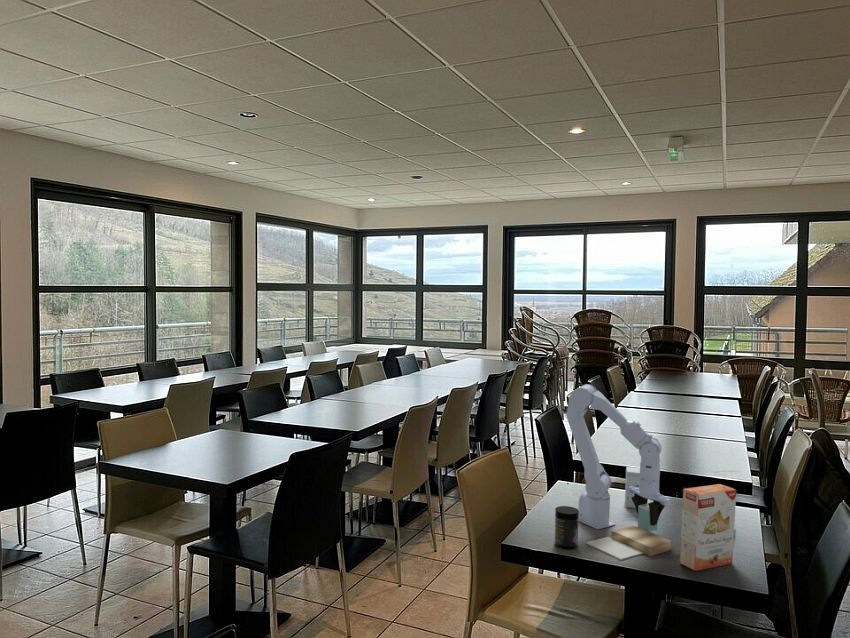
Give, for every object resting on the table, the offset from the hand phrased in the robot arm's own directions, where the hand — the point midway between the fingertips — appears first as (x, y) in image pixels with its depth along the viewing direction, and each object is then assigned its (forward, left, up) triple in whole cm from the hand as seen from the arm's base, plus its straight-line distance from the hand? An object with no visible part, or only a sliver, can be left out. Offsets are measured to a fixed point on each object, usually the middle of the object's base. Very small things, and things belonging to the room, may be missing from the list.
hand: (647, 522), depth 193 cm
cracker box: (+23, -4, -4) cm, 24 cm away
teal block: (0, 0, -2) cm, 2 cm away
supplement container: (-5, -29, -4) cm, 30 cm away
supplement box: (-19, +17, -4) cm, 26 cm away
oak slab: (+5, -9, -3) cm, 11 cm away
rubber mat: (+4, -18, -3) cm, 19 cm away
